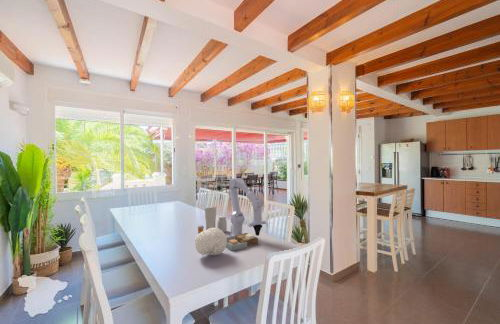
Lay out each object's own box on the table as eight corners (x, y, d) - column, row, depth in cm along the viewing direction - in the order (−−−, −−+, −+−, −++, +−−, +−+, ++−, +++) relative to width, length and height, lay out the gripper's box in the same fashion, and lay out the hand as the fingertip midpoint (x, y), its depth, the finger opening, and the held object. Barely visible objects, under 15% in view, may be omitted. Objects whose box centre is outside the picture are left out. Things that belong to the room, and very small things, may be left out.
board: (234, 240, 170) (234, 235, 170) (246, 238, 176) (246, 233, 176) (246, 246, 158) (246, 240, 158) (257, 243, 164) (257, 238, 164)
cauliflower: (214, 248, 156) (214, 223, 156) (233, 255, 145) (233, 228, 145) (188, 257, 140) (189, 229, 140) (208, 266, 129) (208, 236, 129)
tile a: (234, 239, 166) (234, 241, 166) (228, 240, 164) (228, 243, 164) (237, 240, 163) (237, 243, 163) (232, 242, 160) (232, 245, 160)
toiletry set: (223, 229, 197) (223, 205, 197) (228, 231, 192) (228, 206, 191) (195, 235, 182) (195, 208, 182) (200, 237, 176) (200, 210, 176)
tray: (220, 244, 163) (220, 238, 163) (234, 240, 170) (234, 235, 170) (232, 251, 150) (232, 245, 150) (247, 247, 157) (247, 242, 157)
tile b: (245, 237, 165) (245, 234, 165) (250, 236, 168) (250, 233, 168) (248, 239, 161) (248, 236, 161) (254, 238, 164) (254, 235, 164)
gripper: (252, 218, 161) (252, 238, 161) (268, 215, 169) (268, 234, 169) (246, 216, 167) (246, 235, 167) (262, 214, 175) (262, 232, 175)
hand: (257, 235), depth 168 cm, fingers closed
